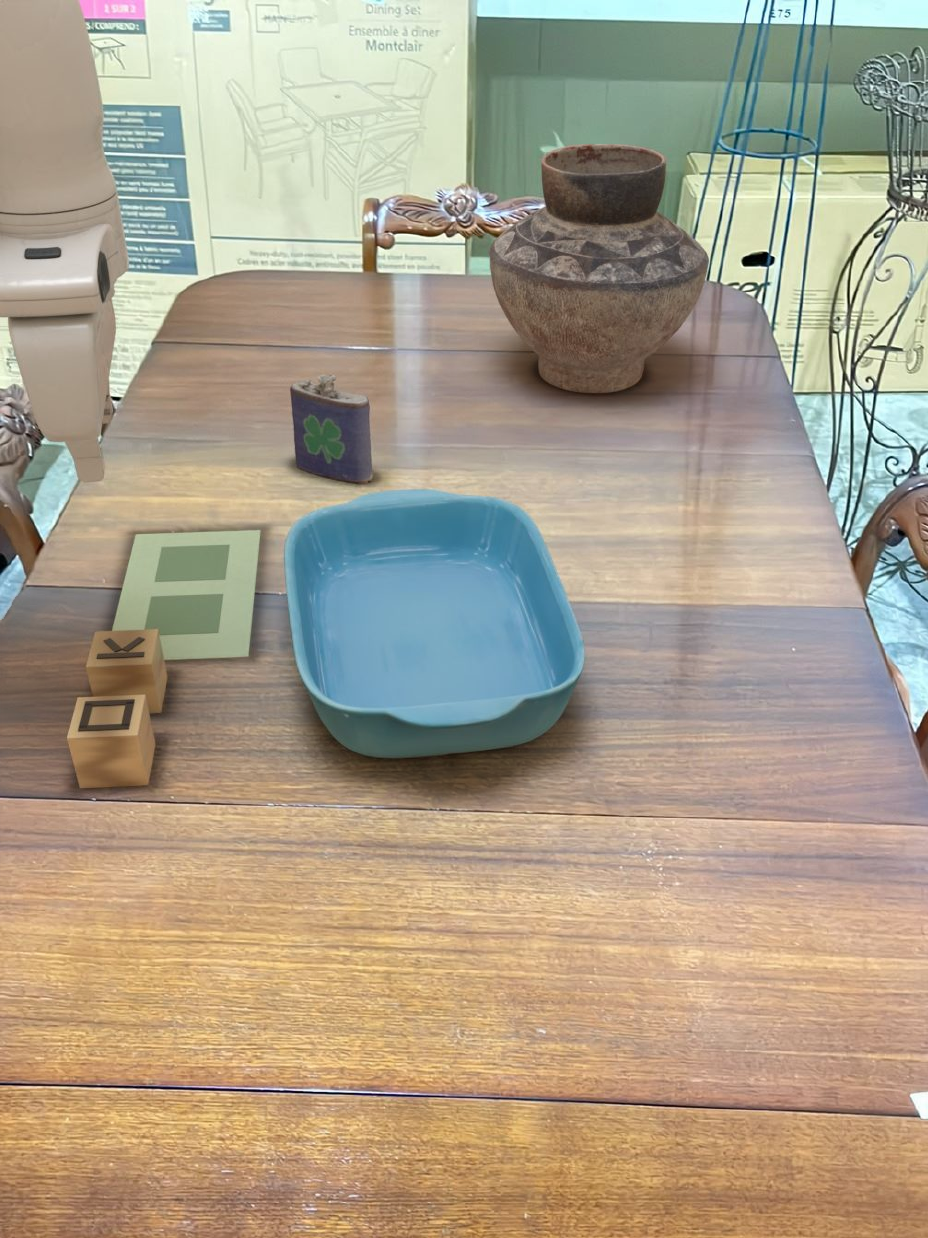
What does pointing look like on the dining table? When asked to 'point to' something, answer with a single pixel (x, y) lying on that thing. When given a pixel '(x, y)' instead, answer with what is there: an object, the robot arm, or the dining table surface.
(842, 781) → the dining table surface
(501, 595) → the casserole dish
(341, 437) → the flask
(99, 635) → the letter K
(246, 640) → the word mat
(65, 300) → the robot arm
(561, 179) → the ceramic pot
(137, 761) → the letter O
